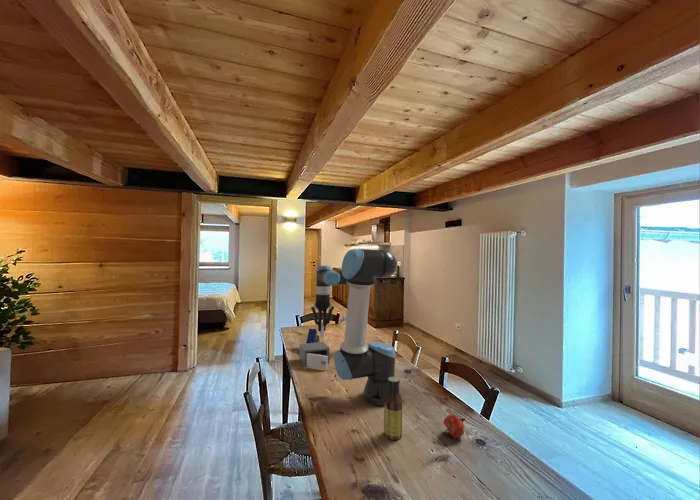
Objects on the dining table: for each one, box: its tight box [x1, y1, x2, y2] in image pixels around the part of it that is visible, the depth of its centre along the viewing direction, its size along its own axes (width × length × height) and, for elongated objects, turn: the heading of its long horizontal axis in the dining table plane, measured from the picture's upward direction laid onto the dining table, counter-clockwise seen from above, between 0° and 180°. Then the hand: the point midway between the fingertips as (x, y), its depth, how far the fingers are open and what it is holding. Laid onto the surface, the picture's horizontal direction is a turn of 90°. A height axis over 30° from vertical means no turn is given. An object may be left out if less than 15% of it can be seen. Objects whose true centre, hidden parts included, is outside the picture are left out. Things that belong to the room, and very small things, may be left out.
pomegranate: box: [442, 413, 467, 439], centre depth 107 cm, size 7×7×10 cm
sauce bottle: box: [383, 376, 404, 441], centre depth 105 cm, size 6×6×20 cm
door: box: [306, 353, 328, 370], centre depth 163 cm, size 2×12×7 cm, turn 72°
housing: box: [299, 341, 330, 368], centre depth 173 cm, size 12×14×9 cm
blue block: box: [305, 328, 321, 344], centre depth 193 cm, size 6×20×15 cm, turn 174°
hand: (321, 337), depth 166 cm, fingers closed
